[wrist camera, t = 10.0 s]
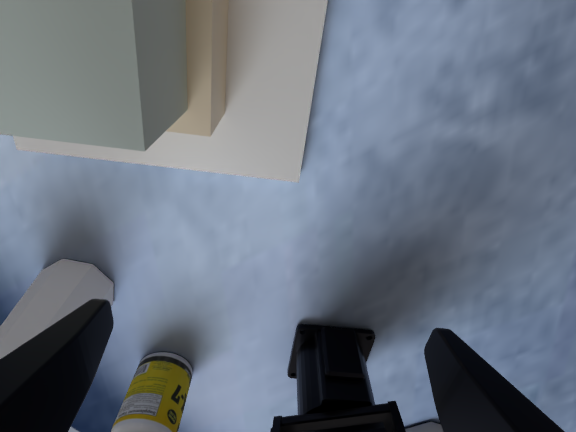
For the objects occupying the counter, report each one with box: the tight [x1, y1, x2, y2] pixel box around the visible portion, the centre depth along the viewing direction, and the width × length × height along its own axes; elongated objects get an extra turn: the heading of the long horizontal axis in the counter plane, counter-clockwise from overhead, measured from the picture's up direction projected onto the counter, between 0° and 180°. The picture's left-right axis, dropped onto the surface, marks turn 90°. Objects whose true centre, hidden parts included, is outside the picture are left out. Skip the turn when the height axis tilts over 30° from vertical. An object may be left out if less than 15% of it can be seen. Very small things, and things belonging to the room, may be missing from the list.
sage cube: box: [0, 0, 188, 151], centre depth 11 cm, size 5×5×5 cm
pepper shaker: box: [0, 259, 114, 359], centre depth 21 cm, size 5×5×11 cm
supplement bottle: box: [111, 352, 192, 432], centre depth 27 cm, size 5×5×8 cm
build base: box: [13, 0, 328, 182], centre depth 15 cm, size 14×16×5 cm
